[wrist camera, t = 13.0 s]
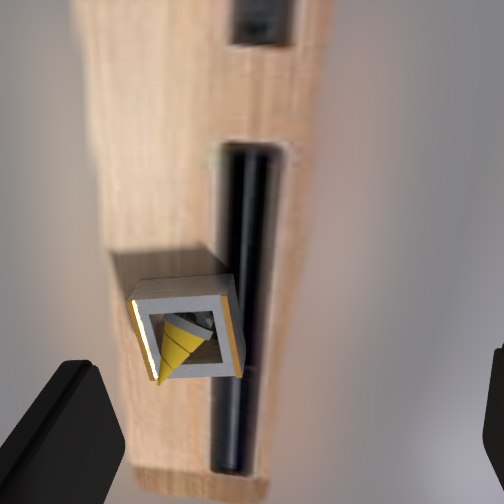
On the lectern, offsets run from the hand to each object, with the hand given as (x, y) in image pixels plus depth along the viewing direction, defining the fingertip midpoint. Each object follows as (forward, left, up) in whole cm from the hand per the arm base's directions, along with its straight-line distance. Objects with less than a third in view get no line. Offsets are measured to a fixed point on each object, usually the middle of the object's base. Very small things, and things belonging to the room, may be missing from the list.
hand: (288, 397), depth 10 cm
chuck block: (+18, -12, -30) cm, 37 cm away
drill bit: (+18, -13, -30) cm, 37 cm away
